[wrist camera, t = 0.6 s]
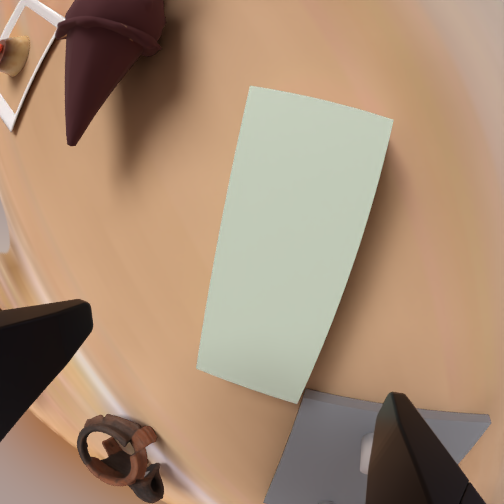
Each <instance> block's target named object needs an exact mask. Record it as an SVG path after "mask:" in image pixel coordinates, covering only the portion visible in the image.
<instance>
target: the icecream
mask: <svg viewBox="0 0 504 504" xmlns="http://www.w3.org/2000/svg"><path fill="white" fill-rule="evenodd" d="M165 24H166V17H165V16H164V1H163V0H75V1H74V2H73V4H72V5H71V7H70V8H69V10H68V12H67V13H66V16H65V20H64V21H61V22H59V23H58V24H57V30H56V33H55V37H56V39H57V40H59V39H67V40H66V58H65V117H66V136H67V144H68V145H70V146H76V144H77V143H78V141H79V140H80V138H81V137H82V135H83V133H84V132H85V130H86V129H87V127H88V125H89V124H90V122H91V121H92V119H93V118H94V116H95V115H96V113H97V112H98V110H99V109H100V107H101V106H102V105H103V103H104V102H105V100H106V99H107V98H108V96H109V95H110V94H111V92H112V91H113V90H114V88H115V87H116V86H117V84H118V83H119V82H120V80H121V79H122V78H123V76H124V75H125V74H126V73H127V71H128V70H129V69H130V68H131V67H132V65H133V64H134V63H135V62H136V60H137V59H138V58H139V57H140V56H141V55H142V56H147V57H149V56H152V55H155V54H156V53H157V52H158V50H161V49H162V48H161V47H160V45H159V44H158V43H157V41H158V39H159V38H160V37H161V35H162V28H163V27H164V26H165Z"/></svg>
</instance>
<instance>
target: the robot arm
mask: <svg viewBox="0 0 504 504" xmlns="http://www.w3.org/2000/svg"><path fill="white" fill-rule="evenodd" d="M92 329H93V319H92V311H91V306H90V304H89V303H88V302H86V301H84V300H81V299H75V300H68V301H62V302H56V303H49V304H42V305H36V306H29V307H22V308H16V309H9V310H2V311H0V442H1V441H2V439H3V438H4V437H5V436H6V434H7V433H8V432H9V431H10V430H11V428H12V427H13V426H14V425H15V424H16V422H17V421H18V420H19V419H20V418H21V416H22V415H23V414H24V412H26V410H27V409H28V408H29V407H30V406H31V405H32V403H33V402H34V401H35V400H36V399H37V398H38V397H39V395H40V394H41V393H42V392H43V391H44V390H45V389H46V387H47V386H48V385H49V384H50V383H51V382H52V381H53V379H54V378H55V377H56V376H57V375H58V374H59V373H60V372H61V371H62V369H63V368H64V367H65V366H66V365H67V364H68V362H69V361H70V360H71V358H72V357H73V356H74V354H75V353H76V352H77V350H78V349H79V348H80V346H81V345H82V344H83V342H84V341H85V340H86V338H87V337H88V336H89V334H90V333H91V332H92ZM468 482H469V480H468V478H467V477H466V476H465V474H464V473H463V471H462V470H461V469H460V467H459V466H458V464H457V463H456V462H455V460H454V459H453V458H452V456H451V455H450V453H449V452H448V451H447V449H446V448H445V447H444V445H443V444H442V443H441V441H440V440H439V439H438V437H437V436H436V434H435V433H434V432H433V430H432V429H431V428H430V426H429V425H428V424H427V422H426V421H425V420H424V418H423V417H422V416H421V414H420V413H419V412H418V411H417V409H416V408H415V407H414V405H413V404H412V403H411V401H410V400H409V399H408V397H407V396H406V395H405V394H403V393H397V392H390V393H389V394H388V395H387V397H386V399H385V401H384V403H383V405H382V407H381V409H380V411H379V412H378V415H377V418H376V423H375V430H374V436H373V443H372V449H371V455H370V460H369V466H368V475H367V489H366V501H365V504H486V503H485V502H484V500H483V499H482V498H481V496H480V495H479V494H478V492H477V491H476V489H475V488H474V487H473V485H472V484H471V483H470V482H469V483H468Z"/></svg>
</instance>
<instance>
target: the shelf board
mask: <svg viewBox="0 0 504 504" xmlns="http://www.w3.org/2000/svg"><path fill="white" fill-rule="evenodd" d="M392 125H393V120H392V119H389V118H386V117H383V116H380V115H377V114H373V113H370V112H367V111H363V110H360V109H356V108H353V107H349V106H345V105H341V104H338V103H334V102H330V101H326V100H321V99H317V98H313V97H308V96H304V95H299V94H294V93H289V92H284V91H279V90H273V89H267V88H261V87H255V86H250V88H249V93H248V97H247V101H246V106H245V110H244V115H243V119H242V124H241V128H240V133H239V138H238V142H237V147H236V152H235V156H234V161H233V166H232V171H231V176H230V181H229V186H228V190H227V195H226V201H225V206H224V211H223V216H222V221H221V226H220V232H219V237H218V242H217V248H216V253H215V258H214V264H213V269H212V275H211V281H210V286H209V292H208V298H207V304H206V310H205V316H204V322H203V328H202V334H201V340H200V347H199V353H198V359H197V366H196V369H199V370H201V371H204V372H206V373H209V374H211V375H214V376H216V377H219V378H222V379H224V380H227V381H230V382H232V383H235V384H238V385H240V386H243V387H246V388H249V389H252V390H255V391H258V392H261V393H264V394H267V395H270V396H273V397H276V398H279V399H282V400H285V401H288V402H292V403H295V404H297V403H298V401H299V399H300V397H301V395H302V392H303V390H304V388H305V386H306V383H307V381H308V379H309V377H310V374H311V372H312V370H313V367H314V365H315V363H316V360H317V358H318V356H319V353H320V351H321V349H322V346H323V344H324V341H325V339H326V336H327V334H328V331H329V329H330V326H331V324H332V321H333V318H334V316H335V313H336V311H337V308H338V305H339V303H340V300H341V297H342V294H343V292H344V289H345V286H346V283H347V281H348V278H349V275H350V272H351V269H352V266H353V263H354V260H355V257H356V254H357V251H358V248H359V245H360V242H361V239H362V236H363V233H364V229H365V226H366V223H367V220H368V216H369V213H370V210H371V206H372V203H373V199H374V196H375V192H376V189H377V185H378V181H379V178H380V174H381V170H382V166H383V162H384V158H385V154H386V150H387V146H388V142H389V138H390V133H391V129H392Z"/></svg>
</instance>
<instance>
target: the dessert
mask: <svg viewBox="0 0 504 504" xmlns="http://www.w3.org/2000/svg"><path fill="white" fill-rule="evenodd" d="M25 6H27V7H29V8H30V9H32V10H33V11H35V12H36V13H37V14H39V15H40V16H42V17H43V18H44V19H46V20H47V21H49V22H50V23H51V24H53V25H54V26H55V27H57V24H58V23H59V22H61V21H64V20H65V18H64V17H63V16H61V15H60V14H58V13H57V12H55V11H54V10H52V9H51V8H49V7H47V6H46V5H44V4H43V3H41V2H39V1H38V0H20V1H19V3H18V5H17V7H16V8H15V10H14V12H13V14H12V16H11V17H10V19H9V21H8V23H7V25H6V27H5V29H4V31H3V33H2V35H1V37H0V71H1V72H3V73H5V74H8V75H10V76H12V77H13V76H16V75H17V74H18V73H19V72H20V71H21V69H22V68H23V66H24V64H25V62H26V60H27V57H28V54H29V49H30V40H29V37H28V36H20V37H13V38H8V37H9V35H10V33H11V31H12V29H13V27H14V25H15V23H16V22H17V20H18V18H19V16H20V14H21V12H22V11H23V9H24V7H25ZM55 33H56V31H55ZM55 33H54V35H53V37H52V38H51V40H50V42H49V44H48V45H47V47H46V49H45V51H44V53H43V55H42V57H41V59H40V60H39V62H38V64H37V66H36V68H35V70H34V73H33V75H32V77H31V79H30V81H29V83H28V85H27V88H26V90H25V92H24V94H23V97H22V99H21V101H20V104H19V106H18V109H17V111H16V113H15V114H14V112H13V111H12V110H11V108H10V107H9V105H8V104H7V102H6V101H5V100H4V98H3V97H2V95H1V94H0V117H1V118H2V120H3V122H4V123H5V125H6V126H7V128H8V129H9V131H10V132H12V130H13V127H14V124H15V121H16V119H17V116H18V114H19V111H20V109H21V106H22V104H23V102H24V99H25V97H26V95H27V92H28V90H29V88H30V86H31V83H32V81H33V79H34V77H35V75H36V73H37V71H38V69H39V67H40V65H41V63H42V61H43V59H44V57H45V55H46V53H47V52H48V50H49V48H50V46H51V44H52V43H53V41H54V39H55Z"/></svg>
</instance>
